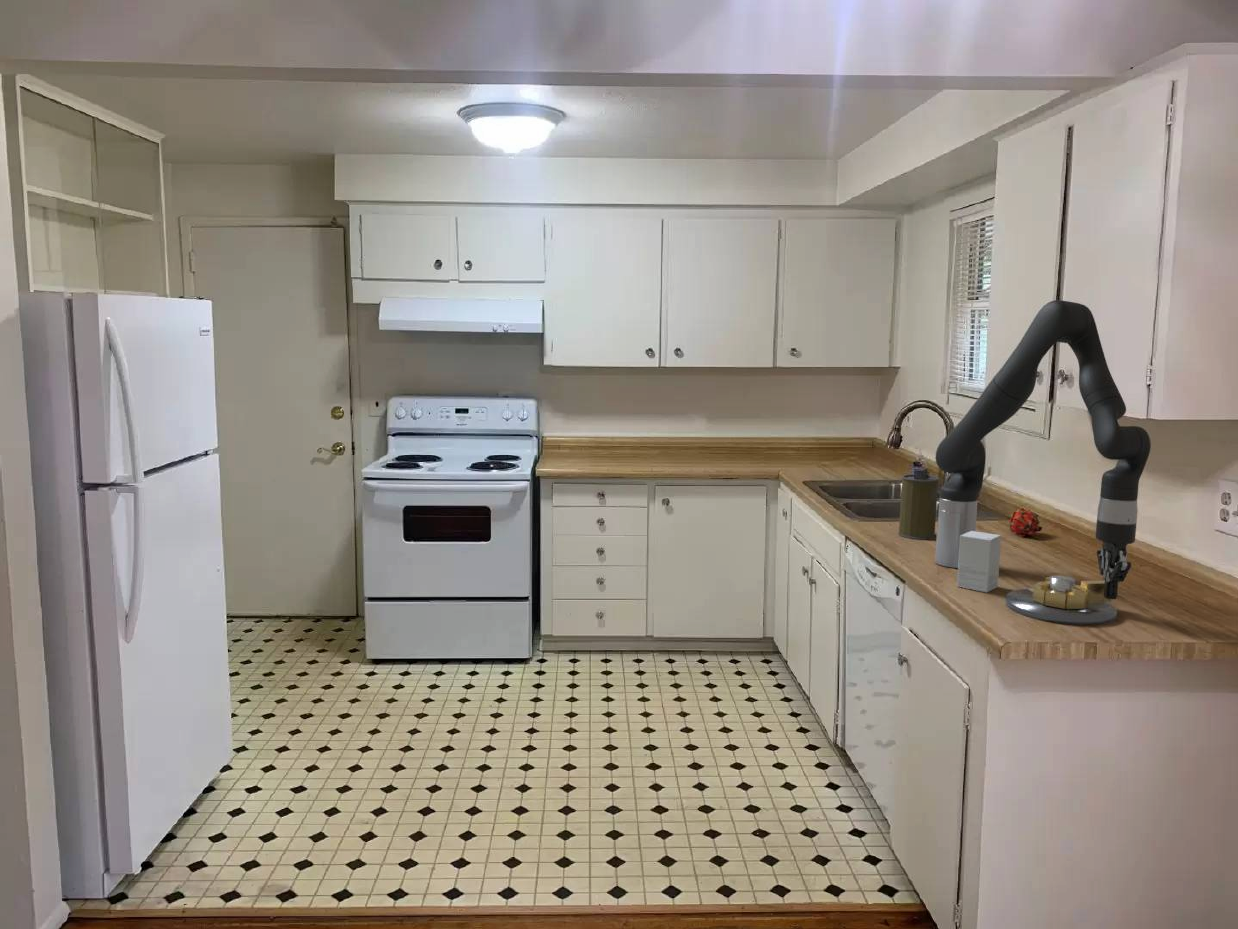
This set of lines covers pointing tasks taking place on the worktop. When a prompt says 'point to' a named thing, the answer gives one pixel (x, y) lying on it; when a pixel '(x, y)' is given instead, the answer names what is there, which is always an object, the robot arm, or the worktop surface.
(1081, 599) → the tan curved piece
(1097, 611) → the flange
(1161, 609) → the worktop surface
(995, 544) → the supplement box
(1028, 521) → the dragon fruit
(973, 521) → the robot arm
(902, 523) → the canister
